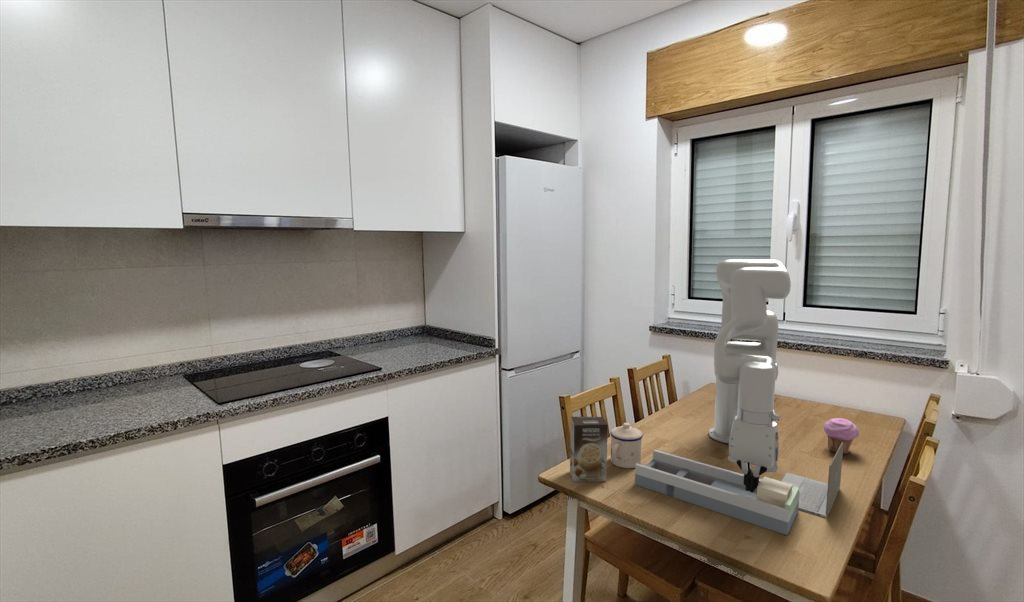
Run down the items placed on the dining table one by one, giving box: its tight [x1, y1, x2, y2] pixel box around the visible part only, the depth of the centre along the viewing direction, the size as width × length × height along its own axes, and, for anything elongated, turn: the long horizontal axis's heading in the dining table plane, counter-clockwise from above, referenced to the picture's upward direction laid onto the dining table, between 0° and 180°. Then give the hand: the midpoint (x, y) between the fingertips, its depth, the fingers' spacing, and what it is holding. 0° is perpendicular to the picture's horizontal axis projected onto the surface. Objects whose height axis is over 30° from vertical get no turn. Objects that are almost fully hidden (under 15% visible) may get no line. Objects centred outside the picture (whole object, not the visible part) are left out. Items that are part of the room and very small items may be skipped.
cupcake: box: [823, 417, 860, 455], centre depth 150 cm, size 9×9×10 cm
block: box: [756, 476, 792, 508], centre depth 115 cm, size 6×6×5 cm
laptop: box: [780, 442, 844, 519], centre depth 125 cm, size 18×12×13 cm
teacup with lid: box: [610, 422, 644, 469], centre depth 143 cm, size 12×9×12 cm
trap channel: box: [634, 449, 800, 536], centre depth 124 cm, size 12×36×6 cm, turn 50°
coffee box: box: [569, 416, 609, 483], centre depth 135 cm, size 9×6×16 cm
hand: (750, 489), depth 118 cm, fingers closed
